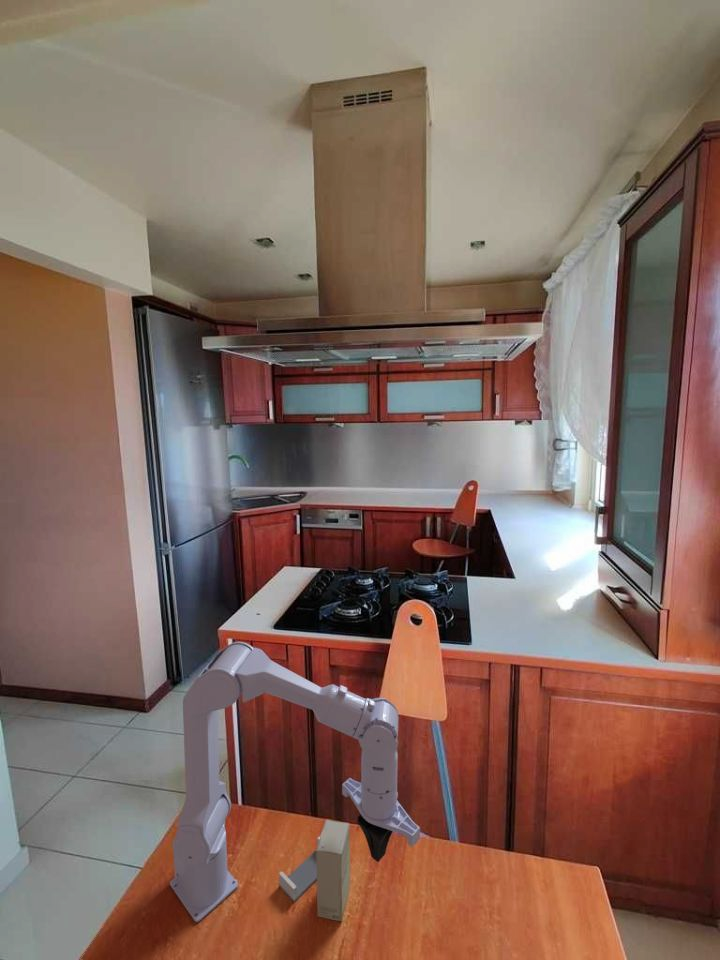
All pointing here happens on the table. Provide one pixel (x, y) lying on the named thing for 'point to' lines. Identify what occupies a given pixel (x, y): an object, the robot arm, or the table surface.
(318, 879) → the skincare box
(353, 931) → the table surface
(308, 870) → the u rest
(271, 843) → the table surface
